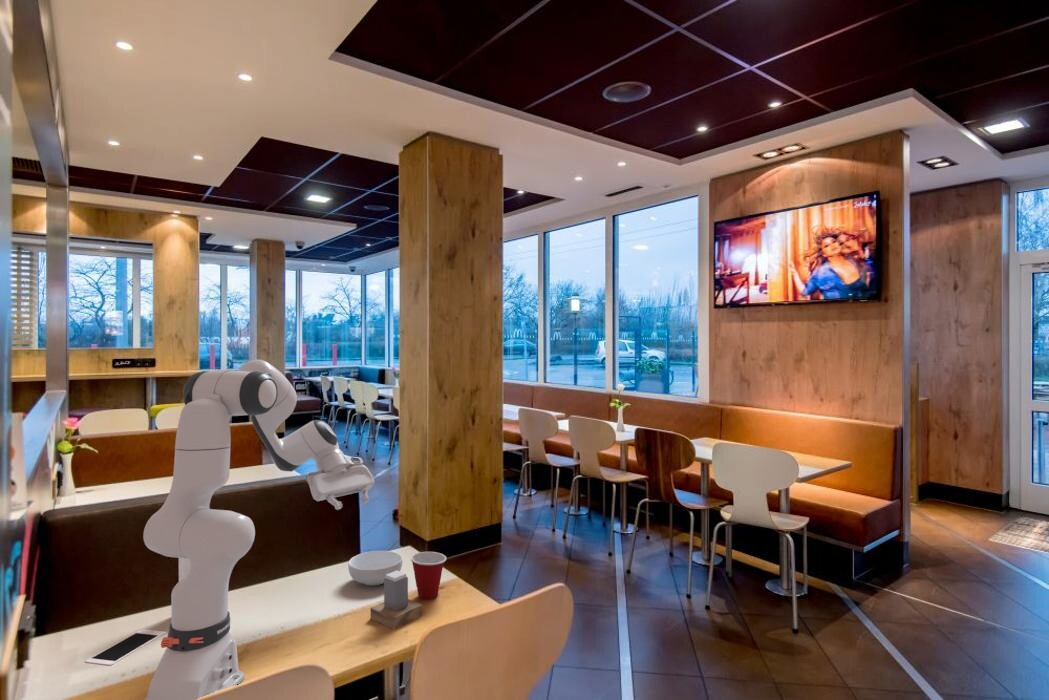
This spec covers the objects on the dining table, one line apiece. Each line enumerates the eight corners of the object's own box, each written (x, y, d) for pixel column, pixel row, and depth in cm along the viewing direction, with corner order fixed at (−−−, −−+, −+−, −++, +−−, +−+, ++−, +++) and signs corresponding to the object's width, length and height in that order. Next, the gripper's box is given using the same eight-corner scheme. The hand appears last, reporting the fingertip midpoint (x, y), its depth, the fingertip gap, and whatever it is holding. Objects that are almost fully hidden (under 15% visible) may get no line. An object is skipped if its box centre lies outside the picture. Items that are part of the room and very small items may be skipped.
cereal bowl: (363, 597, 172) (363, 573, 172) (339, 580, 184) (339, 559, 184) (412, 581, 183) (412, 559, 183) (386, 566, 195) (386, 546, 195)
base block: (393, 629, 151) (393, 618, 151) (370, 618, 158) (370, 607, 158) (422, 615, 159) (422, 604, 159) (398, 605, 165) (398, 595, 165)
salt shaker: (394, 611, 155) (394, 578, 155) (384, 607, 158) (384, 574, 158) (408, 605, 159) (407, 573, 159) (397, 601, 162) (397, 569, 162)
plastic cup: (450, 599, 169) (450, 559, 169) (414, 606, 165) (414, 565, 165) (442, 585, 179) (441, 548, 179) (407, 591, 175) (407, 552, 175)
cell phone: (166, 633, 151) (166, 631, 151) (111, 667, 135) (111, 664, 135) (141, 631, 152) (141, 629, 152) (84, 663, 136) (84, 661, 136)
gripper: (307, 467, 167) (326, 505, 161) (365, 457, 183) (385, 492, 177) (299, 480, 170) (318, 518, 164) (357, 469, 186) (376, 504, 180)
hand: (353, 504), depth 171 cm, fingers open, 8 cm apart
